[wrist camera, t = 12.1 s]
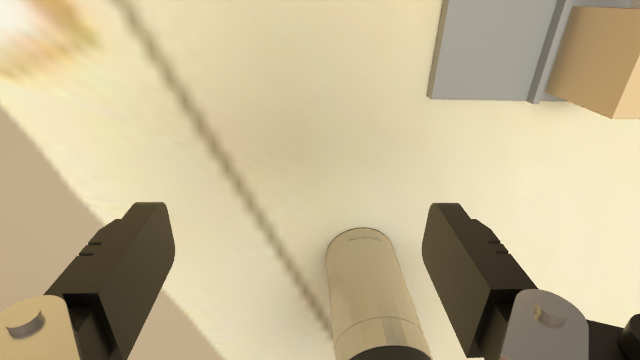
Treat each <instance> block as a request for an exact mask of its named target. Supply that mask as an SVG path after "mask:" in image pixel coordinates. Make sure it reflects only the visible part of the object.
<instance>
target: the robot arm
mask: <svg viewBox="0 0 640 360" xmlns="http://www.w3.org/2000/svg"><path fill="white" fill-rule="evenodd" d="M174 257H175V244H174V239H173V234H172V229H171V225H170V220H169V215H168V210H167V207H166V205H165V204H164V203H163V202H136V203H134V204H133V205H132V207H131V208H130V209H129V210H128V212H127V213H126V214H125V215H124V217H123V218H122V219H115V220H114V221H112V222H111V223H109V224H108V225H106V226H105V227H103V228H102V229H100V230H99V231H98V232H97V233H96V234H95V235H94V237H93V238H92V239H91V240H90V241H89V242H88V245H86V246H85V247H84V248H83V250H82V251H81V252H80V253H79V256H77V257H76V258H75V259H74V260H73V261H72V262H71V263H70V265H69V266H68V267H67V268H66V269H65V270H64V272H63V273H62V274H61V275H60V276H59V277H58V279H57V280H56V281H55V282H54V283H53V284H52V286H51V287H50V288H49V289H48V290H47V291H46V292H45V294H44V295H43V296H36V297H32V298H29V299H26V300H23V301H20V302H18V303H16V304H14V305H12V306H10V307H8V308H7V309H5V310H4V311H2V312H1V313H0V360H127V358H128V356H129V354H130V352H131V350H132V348H133V346H134V344H135V342H136V340H137V338H138V336H139V333H140V331H141V329H142V327H143V325H144V323H145V321H146V319H147V317H148V315H149V313H150V311H151V308H152V306H153V304H154V302H155V300H156V298H157V296H158V294H159V292H160V290H161V288H162V285H163V283H164V281H165V279H166V277H167V275H168V273H169V271H170V269H171V267H172V264H173V261H174ZM422 257H423V261H424V264H425V266H426V269H427V271H428V273H429V275H430V278H431V280H432V282H433V284H434V287H435V289H436V291H437V293H438V295H439V298H440V300H441V302H442V304H443V307H444V309H445V311H446V313H447V315H448V318H449V320H450V322H451V324H452V327H453V329H454V331H455V333H456V335H457V338H458V340H459V342H460V344H461V347H462V349H463V351H464V353H465V355H466V358H480V357H484V359H485V360H640V314H636V315H634V316H632V318H631V319H630V320H629V322H628V323H627V325H626V327H625V328H620V327H616V326H612V325H608V324H603V323H599V322H595V321H590V320H586V319H585V317H584V315H583V314H582V313H581V312H580V311H579V310H578V309H577V308H576V307H575V306H574V305H573V304H571V303H570V302H568V301H567V300H565V299H564V298H562V297H560V296H558V295H556V294H553V293H551V292H548V291H544V290H539V289H538V288H537V287H536V285H535V284H534V283H533V282H532V280H531V279H530V278H529V277H528V275H527V274H526V273H525V272H524V270H523V269H522V268H521V267H520V265H519V264H518V263H517V262H516V260H515V259H514V258H513V257H512V255H511V254H508V250H507V249H506V248H505V247H504V245H503V244H501V243H500V240H499V239H498V238H497V237H496V235H495V234H494V233H493V231H492V230H491V229H490V228H488V227H487V226H485V225H484V224H482V223H481V222H479V221H478V220H476V219H470V217H469V216H468V215H467V213H466V212H465V211H464V209H463V208H462V207H461V205H460V204H458V203H433V204H432V205H431V206H430V209H429V213H428V218H427V223H426V228H425V232H424V237H423V242H422ZM326 261H327V272H328V285H329V295H330V306H331V317H332V328H333V339H334V350H335V359H336V360H433V359H432V356H431V353H430V350H429V347H428V344H427V342H426V339H425V336H424V334H423V331H422V328H421V325H420V322H419V320H418V317H417V314H416V311H415V308H414V305H413V303H412V300H411V297H410V294H409V291H408V289H407V286H406V283H405V280H404V277H403V274H402V272H401V269H400V266H399V263H398V260H397V257H396V255H395V252H394V249H393V246H392V244H391V242H390V240H389V239H388V238H387V237H386V236H385V235H384V234H382V233H380V232H378V231H376V230H372V229H365V228H360V229H353V230H349V231H347V232H345V233H342V234H341V235H339V236H338V237H336V238H335V239H334V240H333V242H332V243H331V244H330V246H329V247H328V250H327V254H326Z"/></svg>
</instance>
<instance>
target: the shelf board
mask: <svg viewBox="0 0 640 360" xmlns="http://www.w3.org/2000/svg"><path fill="white" fill-rule="evenodd" d="M572 6H581V7H620V8H640V0H443V5H442V11H441V17H440V22H439V28H438V34H437V40H436V45H435V51H434V57H433V63H432V69H431V74H430V80H429V86H428V92H427V96H428V97H429V98H430V99H448V100H510V101H528V102H530V103H532V104H539V101H566V100H564V99H561V98H559V97H556V96H554V95H552V94H549V93H547V92H545V89H546V86H547V83H548V80H549V77H550V73H551V70H552V67H553V64H554V61H555V58H556V55H557V52H558V49H559V46H560V43H561V40H562V37H563V34H564V31H565V27H566V24H567V21H568V18H569V15H570V12H571V9H572Z"/></svg>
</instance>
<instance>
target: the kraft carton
mask: <svg viewBox="0 0 640 360" xmlns="http://www.w3.org/2000/svg"><path fill="white" fill-rule="evenodd" d="M545 92H547V93H549V94H552V95H554V96H556V97H559V98H561V99H564V100H566V101H569V102H571V103H574V104H576V105H579V106H581V107H583V108H586V109H588V110H591V111H593V112H596V113H598V114H601V115H603V116H606V117H608V118H611V119H640V8H620V7H581V6H572V9H571V12H570V15H569V18H568V21H567V24H566V27H565V31H564V34H563V37H562V40H561V43H560V46H559V49H558V52H557V55H556V58H555V61H554V64H553V67H552V70H551V73H550V77H549V80H548V83H547V86H546V89H545Z"/></svg>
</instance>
